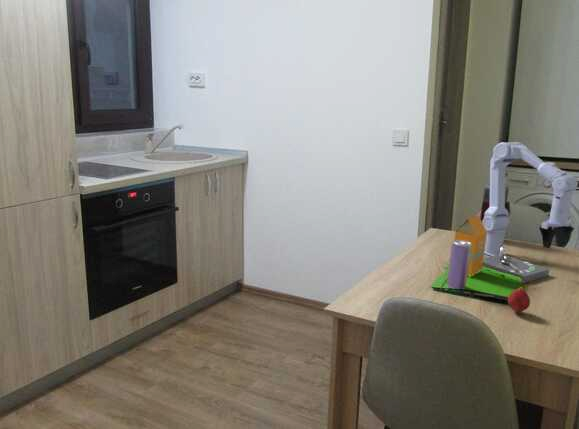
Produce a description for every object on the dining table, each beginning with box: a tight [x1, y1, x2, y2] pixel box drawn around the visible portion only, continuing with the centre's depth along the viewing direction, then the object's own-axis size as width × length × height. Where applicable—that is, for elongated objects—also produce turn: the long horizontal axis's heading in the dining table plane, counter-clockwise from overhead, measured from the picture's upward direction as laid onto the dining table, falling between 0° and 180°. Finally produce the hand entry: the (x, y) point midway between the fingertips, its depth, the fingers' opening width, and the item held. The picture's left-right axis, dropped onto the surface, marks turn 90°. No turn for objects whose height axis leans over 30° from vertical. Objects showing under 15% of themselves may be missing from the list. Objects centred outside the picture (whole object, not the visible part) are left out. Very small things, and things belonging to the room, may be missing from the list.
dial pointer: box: [499, 246, 518, 270], centre depth 188 cm, size 14×4×4 cm, turn 1°
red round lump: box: [507, 286, 531, 314], centre depth 152 cm, size 6×6×8 cm
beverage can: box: [446, 239, 472, 291], centre depth 169 cm, size 6×6×15 cm
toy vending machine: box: [479, 183, 512, 222], centre depth 226 cm, size 9×11×28 cm
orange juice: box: [454, 215, 487, 275], centre depth 184 cm, size 8×9×20 cm
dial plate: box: [482, 254, 550, 284], centre depth 189 cm, size 19×16×3 cm
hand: (553, 246), depth 187 cm, fingers open, 7 cm apart
